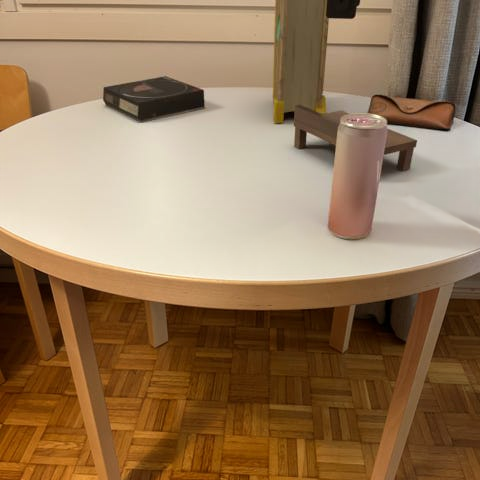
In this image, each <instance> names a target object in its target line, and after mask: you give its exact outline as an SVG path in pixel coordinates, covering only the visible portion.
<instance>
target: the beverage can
mask: <svg viewBox="0 0 480 480" xmlns="http://www.w3.org/2000/svg"><path fill="white" fill-rule="evenodd" d="M387 125H388V123H387V120H386V119H385V118H384V117H382V116H379V115H375V114H368V112H367V113H366V112H354V113H349V114H347V115H344V116H342V117H341V119H340V124H339V126H338V132H337V141H336V146H335V151H334V152H335V153H334V160H333V161H334V163H333V171H332V182H331V191H330V200H329V211H328V219H327V227H328V229H329V231H330V232H331V234H332V235H333V236H335V237H337V238H340V239H342V240H343V239H344V240H360V239H363V238H366V237H367V236H368V235H369V234H370V233H371V231H372V229H373V224H374V217H375V211H376V204H377V199H378V193H379V187H380V180H381V173H382V167H383V161H384V156H385V155H384V149H385V143H386V137H387V129H388V127H387Z"/></svg>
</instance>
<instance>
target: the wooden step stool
mask: <svg viewBox="0 0 480 480" xmlns="http://www.w3.org/2000/svg"><path fill="white" fill-rule="evenodd" d="M293 113H294V116H293V127H294V140H293V141H294V142H293V147H294V148H296V149H299V150H300V149H301V150H302V149H305V148H306V147H307V133H308V134H310V135H312V136H315V137H316V138H318V139H321V140H323V141H325V142H327V143H329V144H331V145H333V146H335V147H336V141H337V132H338V126H339V124H340V119H341V117H342V116H344V115H347V114H350V113H349V112H348V111H347V112H346V111H344V110H342V109H341V110H336V111H331V112H326V113H325V114H321V113H318V112H316V111H314V110H311V109H309V108H306V107H304V106H302V105H297V106H295V111H294V112H293ZM417 144H418V140H417V139H415V138H413V137H410V136H407V135H405V134H403V133H401V132H397V131H395V130H393V129H390V128H387V137H386V143H385V149H384V155H383V156H385V155H390V154H394V153H398V158H397V163H396V169H398V168H399V169H398V170H400V169H401V170H400V171H402V170H404V171H407V170H406V169H408V170H410V169H411V166H412V160H413V155H414V149H415V148H416V147H417ZM409 168H410V169H409Z"/></svg>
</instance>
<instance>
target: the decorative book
mask: <svg viewBox="0 0 480 480" xmlns="http://www.w3.org/2000/svg"><path fill="white" fill-rule="evenodd" d="M274 5H275V6H274V9H275V10H274V29H273V30H274V31H273V70H272V71H273V72H272V101H273V113H272V115H273V116H272V117H273V123H274V124H283V123H284V116H285V115H284V114H285V113H289V112H295V106H297V105H302V106H304V107H306V108H309V109H311V110H314V111H316V112H318V113H321V114H325V113H327V101H326V96H325V95H324V86H325V85H324V84H325V72H326V59H327V49H328V35H329V22H330V21H329V20H330V18H327V17H326V6H327V0H275V3H274Z"/></svg>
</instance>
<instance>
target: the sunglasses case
mask: <svg viewBox="0 0 480 480" xmlns="http://www.w3.org/2000/svg"><path fill="white" fill-rule="evenodd" d="M367 113H368V114H375V115H379V116H382V117H384V118H385V119H386V120H387V124H389V125H390V124H391V125H396V126H397V125H398V126H405V127H412V128H417V129H418V128H419V129H433V130H434V129H435V130H438V129H439V130H450V129H451V128H452V126H453V123H454V121H455V120H454V119H455V114H456V104H454V103H453V102H452V101H446V100H439V101H434V100H426V99H419V98H418V99H417V98H407V97H397V96H396V97H395V96H389V95H385V94H374V95H373V96H372V97H370V102H369V106H368V109H367Z"/></svg>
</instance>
